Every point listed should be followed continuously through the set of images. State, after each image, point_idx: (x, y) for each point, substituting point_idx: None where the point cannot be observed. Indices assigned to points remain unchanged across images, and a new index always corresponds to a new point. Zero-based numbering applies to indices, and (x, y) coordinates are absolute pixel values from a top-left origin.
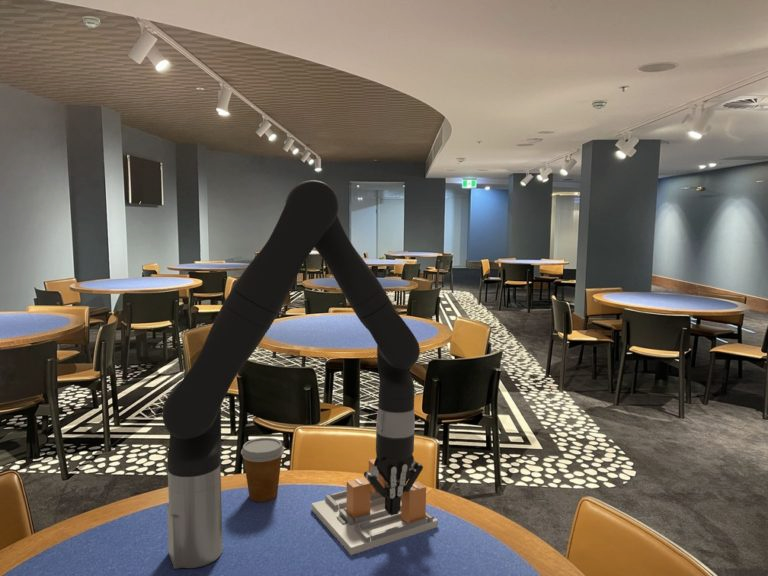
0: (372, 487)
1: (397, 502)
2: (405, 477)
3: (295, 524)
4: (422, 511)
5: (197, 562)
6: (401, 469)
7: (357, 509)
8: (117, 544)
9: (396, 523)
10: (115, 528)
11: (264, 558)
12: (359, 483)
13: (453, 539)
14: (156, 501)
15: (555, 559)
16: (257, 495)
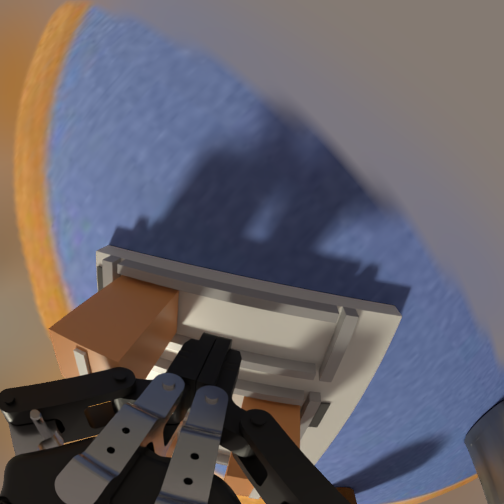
0: (172, 443)
1: (194, 361)
2: (102, 431)
3: (370, 441)
4: (116, 290)
5: None
6: (105, 492)
7: (285, 421)
8: None
9: (205, 323)
10: (470, 471)
11: (477, 383)
12: None
13: (112, 171)
14: (416, 499)
15: (50, 23)
16: (353, 496)
